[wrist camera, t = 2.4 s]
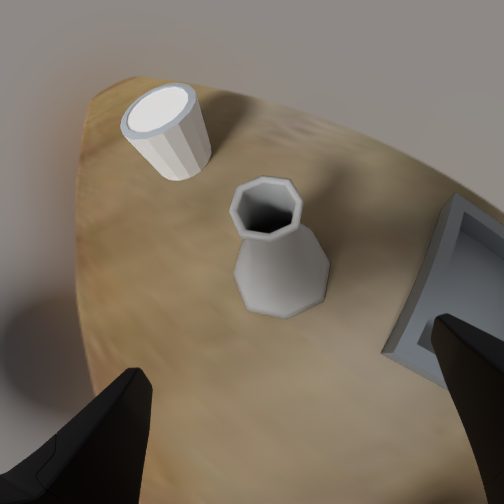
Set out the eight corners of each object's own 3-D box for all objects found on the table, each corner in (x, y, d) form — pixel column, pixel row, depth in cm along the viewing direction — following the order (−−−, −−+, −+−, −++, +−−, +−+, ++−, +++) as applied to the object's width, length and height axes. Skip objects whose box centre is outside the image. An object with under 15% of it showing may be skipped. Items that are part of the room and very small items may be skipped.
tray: (494, 414, 14) (514, 418, 11) (380, 353, 18) (393, 352, 15) (537, 279, 17) (555, 270, 14) (441, 209, 21) (454, 192, 18)
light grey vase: (231, 233, 23) (187, 155, 14) (322, 221, 22) (331, 133, 13) (237, 324, 21) (184, 298, 11) (337, 313, 20) (368, 276, 10)
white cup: (227, 167, 26) (205, 112, 19) (159, 197, 26) (121, 153, 19) (207, 122, 28) (186, 72, 22) (148, 149, 28) (118, 105, 22)
